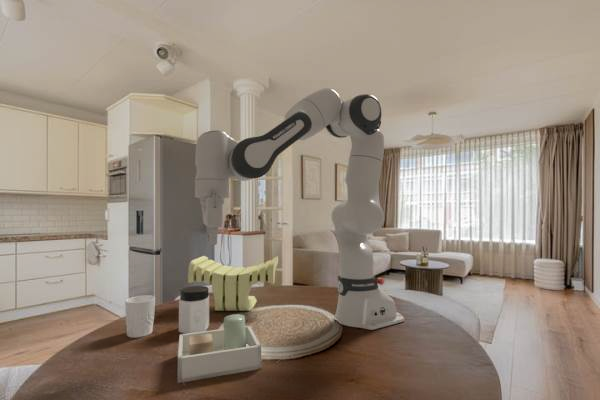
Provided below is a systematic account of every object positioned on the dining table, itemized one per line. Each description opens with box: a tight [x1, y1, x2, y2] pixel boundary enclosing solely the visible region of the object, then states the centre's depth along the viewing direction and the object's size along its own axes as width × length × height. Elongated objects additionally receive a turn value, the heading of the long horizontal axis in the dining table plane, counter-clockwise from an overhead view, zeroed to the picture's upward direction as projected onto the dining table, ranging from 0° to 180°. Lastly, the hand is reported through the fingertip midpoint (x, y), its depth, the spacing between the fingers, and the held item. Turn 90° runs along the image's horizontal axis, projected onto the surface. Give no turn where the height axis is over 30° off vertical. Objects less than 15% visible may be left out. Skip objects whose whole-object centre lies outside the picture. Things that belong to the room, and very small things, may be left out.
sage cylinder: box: [223, 313, 246, 350], centre depth 75 cm, size 5×5×9 cm
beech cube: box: [189, 334, 213, 355], centre depth 73 cm, size 5×5×5 cm
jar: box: [178, 285, 210, 334], centre depth 95 cm, size 9×8×12 cm
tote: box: [177, 325, 262, 384], centre depth 74 cm, size 18×14×5 cm
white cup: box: [124, 294, 156, 339], centre depth 91 cm, size 8×8×10 cm
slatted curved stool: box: [187, 255, 279, 312], centre depth 117 cm, size 30×16×18 cm, turn 88°
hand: (211, 242), depth 84 cm, fingers open, 8 cm apart
